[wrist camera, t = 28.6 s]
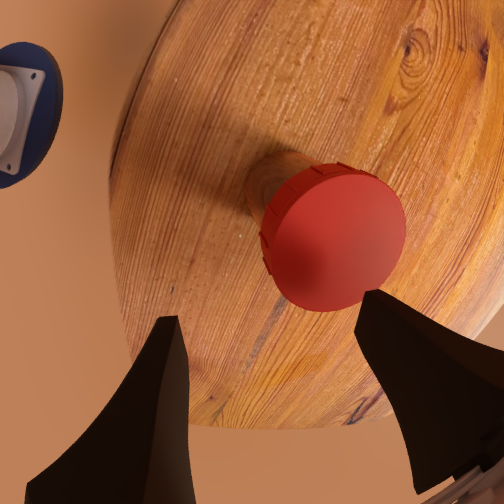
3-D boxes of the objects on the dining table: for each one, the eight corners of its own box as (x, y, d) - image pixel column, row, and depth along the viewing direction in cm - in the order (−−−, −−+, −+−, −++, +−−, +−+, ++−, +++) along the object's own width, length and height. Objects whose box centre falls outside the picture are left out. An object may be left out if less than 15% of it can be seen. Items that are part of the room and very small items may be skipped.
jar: (234, 216, 18) (256, 283, 11) (261, 139, 16) (305, 157, 9) (305, 235, 19) (356, 301, 13) (333, 166, 17) (406, 203, 11)
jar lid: (357, 137, 10) (383, 144, 8) (394, 245, 13) (416, 263, 11) (231, 212, 11) (237, 232, 9) (296, 308, 14) (309, 334, 12)
